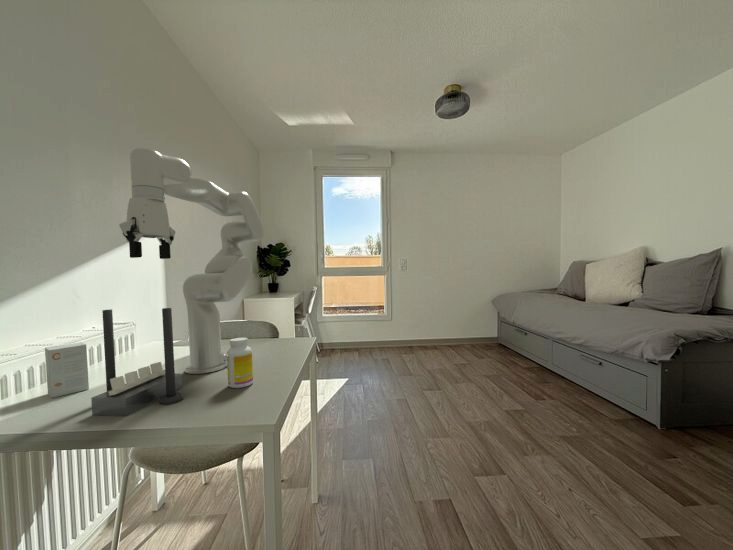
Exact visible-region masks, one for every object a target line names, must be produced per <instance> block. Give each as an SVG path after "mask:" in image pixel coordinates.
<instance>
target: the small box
mask: <svg viewBox="0 0 733 550" xmlns="http://www.w3.org/2000/svg"><path fill="white" fill-rule="evenodd" d="M87 350H88V349H87V344H86V343H84V342H81V341H79V342H75V343H74V342H73V343H67V344H66V343H65V344H59V345H54V346H48V347H47V346H46V347H44V354H45V355H44V358H45V372H46V384H47V386H46V389H47V394H48V395H49V397H50V398H51V399H53V397H54V398H58V397H62V396H66V395H71V394H74V393H78V392H79V393H80V392H83V391H88V390H89V389H90V386H89V385H90V383H89V382H90V381H89V368H88V353H87V352H88V351H87Z"/></svg>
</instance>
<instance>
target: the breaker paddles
mask: <svg viewBox="0 0 733 550" xmlns="http://www.w3.org/2000/svg"><path fill="white" fill-rule="evenodd" d="M163 374H165V369H163V366H162V361H158V362H155V363H151V364H149V365H148V366H143V367H140V368H138V369H137V370H134V371H129V372H126V373H124V375H120V376H116V377H115V378H112V379H110V382H111V386H112V390H111V391H109V396H111V395H115V394H118V393H120V392H122V391H125V390H127V389H129V388H132V387H134V386H137V385H139V384H141V383H144V382H146V381H148V380H151V379H153V378H156V377H158V376H160V375H163ZM124 378H125V380H124ZM139 378H140V379H139ZM125 382H126V383H125ZM125 384H126V385H125Z"/></svg>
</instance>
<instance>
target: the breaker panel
mask: <svg viewBox="0 0 733 550" xmlns="http://www.w3.org/2000/svg"><path fill="white" fill-rule="evenodd" d="M138 378H139V379H140V377H138ZM126 384H127V383H125V385H126ZM182 388H183V383H182V373H175V389H176V392H178V390H180V389H182ZM109 391H111V390H109ZM109 391H107V390H106V391H104V392H102V393H100V394H99V393H98V394H97V395H95V396H93V397H91V398H90V399H91V400H90V401H91V413H92V414H91V415H92V416H108V415H116V416H115V417H128V416H129V415H132V414H133V413H136V412H137V411H139V410H142V409H143V408H145V407H147V406H149V405H151V404H154V403H155V402H157V401H160V397H161V396H163V395H166V376H165V374H163V375H160V376H158V377H156V378H153V379H151V380H148V381H146V382H144V383H141V384H139V385H137V386H134V387H132V388H129V389H127V390H125V391H122V392H120V393H118V394H115V395H111V396H109Z"/></svg>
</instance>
